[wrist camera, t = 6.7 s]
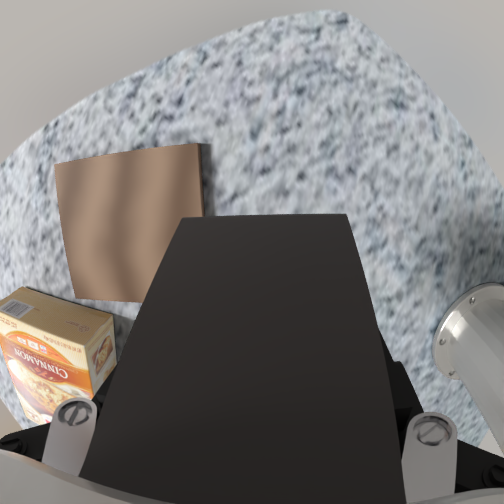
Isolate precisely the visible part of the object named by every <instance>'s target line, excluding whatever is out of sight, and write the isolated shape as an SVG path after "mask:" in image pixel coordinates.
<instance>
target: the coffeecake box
mask: <svg viewBox="0 0 504 504" xmlns="http://www.w3.org/2000/svg"><path fill="white" fill-rule="evenodd" d="M0 344H1V348H2V351H3V354H4V358H5V361H6V364H7V367H8V370H9V373H10V376H11V379H12V381H13V384H14V387H15V389H16V392H17V394H18V397H19V400H20V402H21V405H22V407H23V409H24V412H25V414H26V417H27V418H28V419H30V420H32V421H34V422H36V423H38V424H39V425H43V424H46V423H49V422H51V421H52V417H53V414H54V411H55V409H56V408H57V407H58V406H59V405H60V404H61V403H62V402H64V401H65V400H68V399H71V398H77V397H81V398H87V399H89V400H91V399H92V398H93V397H94V395H95V393H96V392H97V391H98V389H99V388H100V387H101V385H102V384H103V382H104V381H105V380H106V378H107V377H108V376H109V374H110V373H111V371H112V370H113V369H114V367H115V366H116V365H117V360H116V349H115V338H114V323H113V314H109V313H106V312H102V311H98V310H95V309H91V308H88V307H84V306H81V305H77V304H74V303H71V302H68V301H64V300H61V299H58V298H55V297H52V296H49V295H46V294H43V293H40V292H36V291H34V290H31V289H28V288H25V287H20V288H19V289H17V290H16V291H14V292H13V293H12V294H10V295H9V296H8V297H6V298H4V299H2V300H1V301H0Z"/></svg>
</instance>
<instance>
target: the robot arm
mask: <svg viewBox="0 0 504 504" xmlns="http://www.w3.org/2000/svg"><path fill="white" fill-rule="evenodd" d="M378 329H379V328H378ZM379 334H380V338H381V343H382V347H383V352H384V357H385V362H386V367H387V372H388V377H389V382H390V388H391V393H392V399H393V405H394V411H395V417H396V424H397V431H398V438H399V445H400V453H401V462H402V471H403V480H404V488H405V495H406V501H407V504H504V458H503V457H500V456H498V455H495V454H492V453H490V452H487V451H485V450H482V449H480V448H477V447H475V446H472V445H470V444H468V443H465V442H463V441H460V440H458V439H457V428H456V425H455V424H454V422H453V421H452V420H451V419H450V418H449V417H447V416H445V415H443V414H441V413H436V412H425V413H424V411H423V409H422V406H421V404H420V402H419V399H418V397H417V395H416V393H415V390H414V388H413V386H412V384H411V381H410V379H409V377H408V375H407V373H406V371H405V368H404V366H403V364H402V363H401V362H400V361H397V362H394V361H393V359H392V357H391V355H390V352H389V350H388V348H387V346H386V344H385V341H384V339H383V337H382V335H381V333H380V331H379ZM432 353H433V359H434V362H435V365H436V366H437V368H438V370H439V371H440V372H441V373H442V374H443V375H444V376H446V377H447V378H450V379H454V380H461V381H462V383H463V384H464V386H465V387H466V389H467V391H468V392H469V394H470V396H471V397H472V399H473V401H474V402H475V404H476V406H477V407H478V409H479V411H480V413H481V414H482V416H483V418H484V420H485V421H486V423H487V425H488V427H489V428H490V430H491V432H492V434H493V436H494V438H495V439H496V441H497V443H498V445H499V447H500V449H501V451H502V452H503V454H504V286H503V285H501V284H497V283H485V284H482V285H479V286H476V287H474V288H472V289H471V290H469V291H467V292H466V293H465V294H463V295H462V296H461V297H460V298H459V299H458V300H457V301H455V302H454V303H453V305H452V306H451V307H450V308H449V309H448V311H447V312H446V313H445V315H444V317H443V318H442V320H441V321H440V323H439V326H438V328H437V330H436V333H435V336H434V340H433V346H432ZM117 365H118V363H117ZM117 365H116V366H115V367H114V369H113V370H112V371H111V373H110V374H109V376H108V377H107V378H106V380H105V381H104V382H103V384H102V385H101V387H100V388H99V389H98V391H97V392H96V393H95V395H94V397H93V398H92V399H91V400H89V399H87V398H81V397H77V398H71V399H68V400H65V401H64V402H62V403H61V404H60V405H59V406H58V407H57V408H56V409H55V411H54V414H53V417H52V421H51V422H49V423H46V424H43V425H39V426H36V427H32V428H29V429H25V430H21V431H18V432H14V433H10V434H8V435H6V436H4V437H3V438H1V439H0V504H173V503H168V502H163V501H159V500H154V499H150V498H146V497H142V496H138V495H134V494H130V493H126V492H123V491H119V490H116V489H113V488H110V487H106V486H103V485H100V484H97V483H94V482H91V481H88V480H86V479H83V478H80V477H78V475H79V473H80V471H81V468H82V466H83V463H84V460H85V458H86V455H87V452H88V449H89V445H90V442H91V439H92V436H93V433H94V430H95V427H96V424H97V421H98V418H99V415H100V412H101V409H102V406H103V403H104V400H105V398H106V395H107V392H108V389H109V387H110V384H111V381H112V378H113V376H114V373H115V370H116V368H117Z"/></svg>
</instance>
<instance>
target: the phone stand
mask: <svg viewBox="0 0 504 504" xmlns="http://www.w3.org/2000/svg"><path fill="white" fill-rule="evenodd" d="M78 477H80V478H83V479H86V480H88V481H91V482H94V483H97V484H100V485H103V486H106V487H110V488H113V489H116V490H119V491H123V492H126V493H130V494H134V495H138V496H142V497H146V498H150V499H154V500H159V501H163V502H168V503H173V504H407V501H406V495H405V488H404V480H403V471H402V462H401V453H400V445H399V438H398V431H397V424H396V417H395V411H394V405H393V399H392V393H391V388H390V382H389V377H388V372H387V367H386V362H385V357H384V352H383V347H382V343H381V338H380V334H379V329H378V325H377V321H376V317H375V313H374V309H373V305H372V301H371V297H370V293H369V289H368V285H367V282H366V278H365V274H364V271H363V267H362V264H361V260H360V257H359V253H358V250H357V246H356V243H355V240H354V236H353V233H352V230H351V227H350V224H349V221H348V217H347V214H276V215H236V216H207V217H183V218H182V219H181V221H180V223H179V225H178V227H177V229H176V231H175V233H174V235H173V237H172V239H171V241H170V244H169V246H168V248H167V250H166V252H165V254H164V256H163V258H162V261H161V263H160V265H159V267H158V269H157V272H156V274H155V276H154V278H153V281H152V283H151V285H150V287H149V290H148V292H147V294H146V296H145V299H144V301H143V303H142V306H141V308H140V310H139V313H138V315H137V318H136V320H135V322H134V325H133V327H132V330H131V332H130V335H129V337H128V340H127V342H126V345H125V347H124V350H123V352H122V355H121V357H120V360H119V362H118V365H117V368H116V370H115V373H114V376H113V378H112V381H111V384H110V387H109V389H108V392H107V395H106V398H105V400H104V403H103V406H102V409H101V412H100V415H99V418H98V421H97V424H96V427H95V430H94V433H93V436H92V439H91V442H90V445H89V449H88V452H87V455H86V458H85V460H84V463H83V466H82V468H81V471H80V473H79V475H78Z"/></svg>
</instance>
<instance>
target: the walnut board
mask: <svg viewBox="0 0 504 504" xmlns="http://www.w3.org/2000/svg"><path fill="white" fill-rule="evenodd" d="M54 167H55V179H56V189H57V198H58V206H59V214H60V221H61V227H62V234H63V240H64V245H65V251H66V256H67V261H68V266H69V271H70V275H71V280H72V284H73V289H74V293H75V297H76V298H78V299H91V300H106V301H121V302H139V303H143V301H144V299H145V296H146V294H147V292H148V290H149V287H150V285H151V283H152V281H153V278H154V276H155V274H156V272H157V269H158V267H159V265H160V263H161V261H162V258H163V256H164V254H165V252H166V250H167V248H168V246H169V244H170V241H171V239H172V237H173V235H174V233H175V231H176V229H177V227H178V225H179V223H180V221H181V219H182V218H183V217H205V212H204V197H203V182H202V164H201V145H200V143H194V144H183V145H174V146H165V147H156V148H148V149H141V150H133V151H127V152H120V153H113V154H107V155H101V156H96V157H90V158H84V159H79V160H74V161H69V162H64V163H59V164H54Z"/></svg>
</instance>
